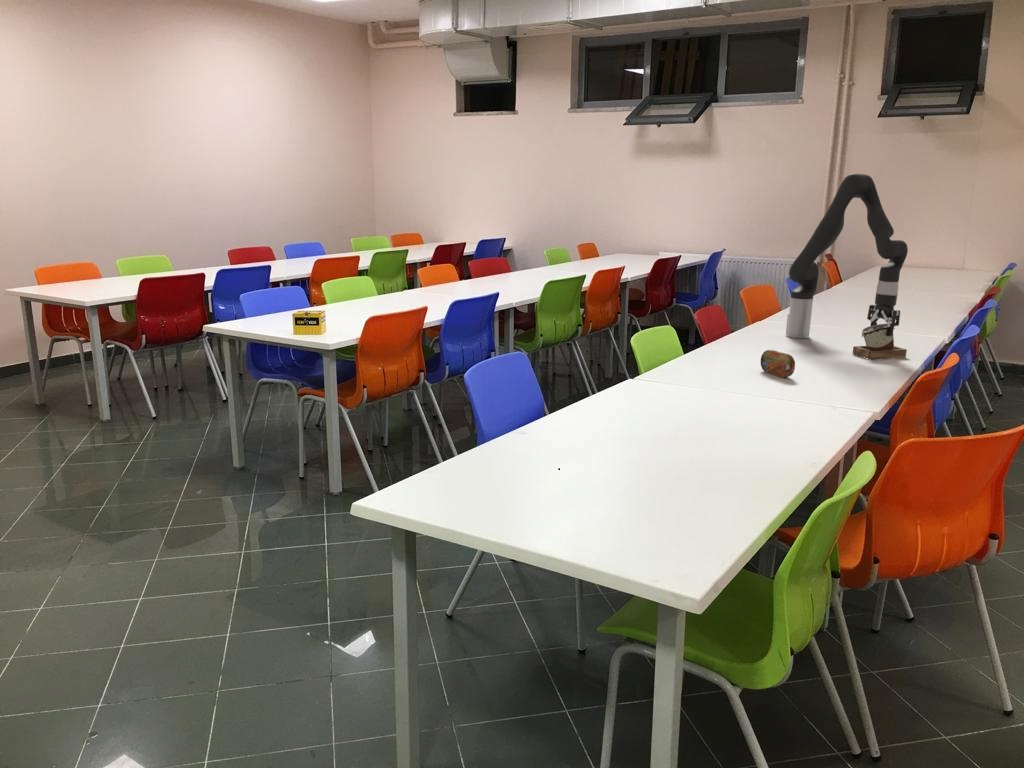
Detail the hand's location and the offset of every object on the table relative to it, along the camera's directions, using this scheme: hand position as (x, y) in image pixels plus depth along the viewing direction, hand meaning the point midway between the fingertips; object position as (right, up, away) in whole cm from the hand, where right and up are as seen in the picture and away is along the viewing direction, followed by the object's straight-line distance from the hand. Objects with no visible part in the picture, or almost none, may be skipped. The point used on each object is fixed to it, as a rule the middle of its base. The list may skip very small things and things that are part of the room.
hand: (880, 333), depth 310 cm
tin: (-50, -17, -29) cm, 61 cm away
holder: (0, -9, +2) cm, 9 cm away
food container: (0, -7, +2) cm, 7 cm away
